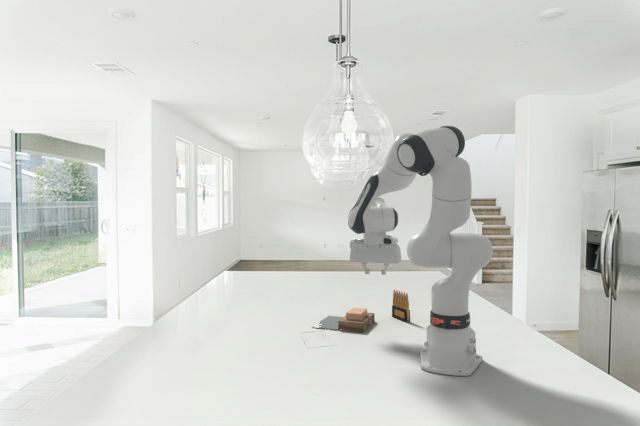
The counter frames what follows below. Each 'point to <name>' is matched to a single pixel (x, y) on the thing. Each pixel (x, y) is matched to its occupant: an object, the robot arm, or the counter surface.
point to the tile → (356, 313)
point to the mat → (330, 322)
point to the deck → (356, 323)
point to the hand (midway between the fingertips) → (375, 274)
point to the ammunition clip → (400, 306)
